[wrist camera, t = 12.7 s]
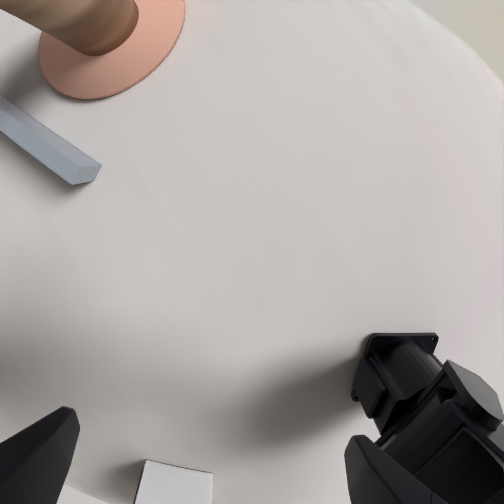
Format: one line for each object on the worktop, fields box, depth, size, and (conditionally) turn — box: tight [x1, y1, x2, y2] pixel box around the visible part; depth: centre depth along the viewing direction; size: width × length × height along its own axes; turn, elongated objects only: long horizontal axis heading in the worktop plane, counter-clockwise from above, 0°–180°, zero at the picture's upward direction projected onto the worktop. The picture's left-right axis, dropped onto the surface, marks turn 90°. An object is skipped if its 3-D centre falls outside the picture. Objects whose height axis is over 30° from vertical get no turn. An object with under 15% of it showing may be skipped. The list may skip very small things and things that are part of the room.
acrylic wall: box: [0, 95, 102, 185], centre depth 16 cm, size 14×1×3 cm, turn 55°
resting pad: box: [39, 0, 185, 99], centre depth 16 cm, size 11×11×1 cm
